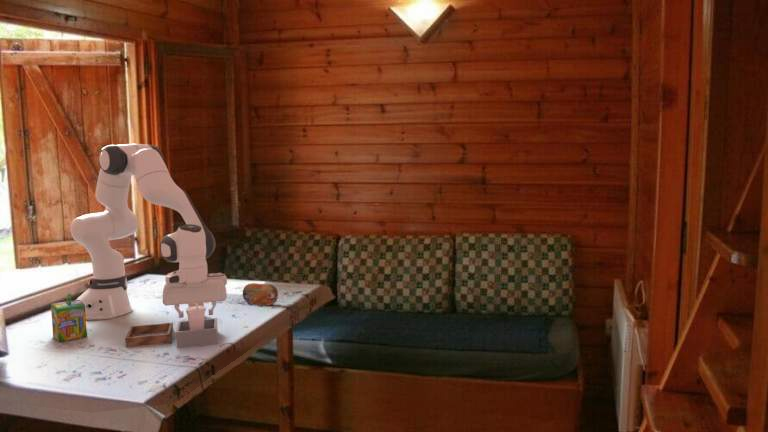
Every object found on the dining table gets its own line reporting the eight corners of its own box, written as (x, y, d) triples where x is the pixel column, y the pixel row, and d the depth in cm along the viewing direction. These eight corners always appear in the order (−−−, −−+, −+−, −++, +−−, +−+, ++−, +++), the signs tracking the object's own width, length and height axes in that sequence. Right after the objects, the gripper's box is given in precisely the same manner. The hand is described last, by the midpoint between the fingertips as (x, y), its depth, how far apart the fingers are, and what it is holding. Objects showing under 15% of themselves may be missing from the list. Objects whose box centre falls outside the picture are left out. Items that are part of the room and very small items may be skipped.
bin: (176, 347, 209) (175, 332, 208) (179, 335, 221) (178, 321, 221) (217, 343, 212) (216, 328, 211) (217, 332, 224) (216, 318, 224)
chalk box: (52, 336, 224) (48, 294, 222) (81, 331, 230) (77, 289, 228) (58, 343, 217) (54, 299, 215) (88, 337, 223) (84, 294, 221)
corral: (125, 347, 211) (125, 338, 210) (131, 334, 224) (131, 326, 224) (170, 343, 214) (169, 334, 214) (173, 330, 227) (172, 322, 227)
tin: (242, 303, 261) (241, 283, 260) (247, 301, 264) (246, 281, 263) (275, 306, 255) (274, 285, 254) (279, 304, 258) (278, 283, 257)
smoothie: (196, 341, 212) (194, 298, 210) (183, 338, 216) (180, 296, 214) (211, 335, 218) (209, 294, 216) (198, 332, 221) (195, 292, 219)
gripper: (226, 270, 219) (228, 310, 221) (162, 274, 215) (165, 316, 216) (226, 274, 213) (228, 315, 215) (160, 279, 208) (163, 321, 210)
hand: (196, 315), depth 216 cm, fingers open, 8 cm apart
